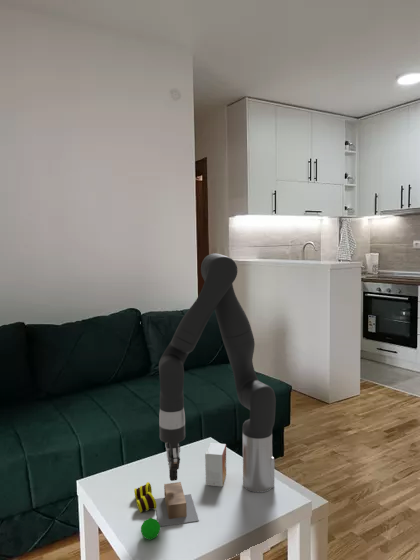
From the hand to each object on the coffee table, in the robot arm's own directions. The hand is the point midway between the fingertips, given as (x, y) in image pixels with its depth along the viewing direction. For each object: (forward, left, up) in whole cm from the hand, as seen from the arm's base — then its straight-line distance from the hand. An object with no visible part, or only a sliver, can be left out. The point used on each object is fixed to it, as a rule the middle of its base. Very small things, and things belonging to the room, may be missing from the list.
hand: (173, 479), depth 130 cm
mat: (0, +4, -7) cm, 8 cm away
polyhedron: (+8, +14, -7) cm, 18 cm away
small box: (-15, -9, -7) cm, 19 cm away
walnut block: (0, -3, -5) cm, 6 cm away
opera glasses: (+8, -1, -7) cm, 11 cm away
